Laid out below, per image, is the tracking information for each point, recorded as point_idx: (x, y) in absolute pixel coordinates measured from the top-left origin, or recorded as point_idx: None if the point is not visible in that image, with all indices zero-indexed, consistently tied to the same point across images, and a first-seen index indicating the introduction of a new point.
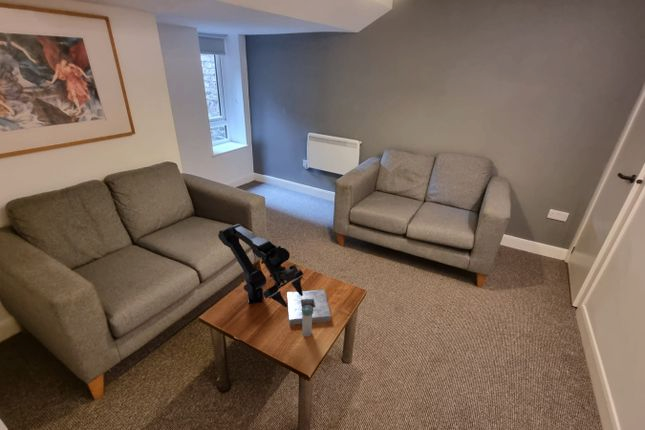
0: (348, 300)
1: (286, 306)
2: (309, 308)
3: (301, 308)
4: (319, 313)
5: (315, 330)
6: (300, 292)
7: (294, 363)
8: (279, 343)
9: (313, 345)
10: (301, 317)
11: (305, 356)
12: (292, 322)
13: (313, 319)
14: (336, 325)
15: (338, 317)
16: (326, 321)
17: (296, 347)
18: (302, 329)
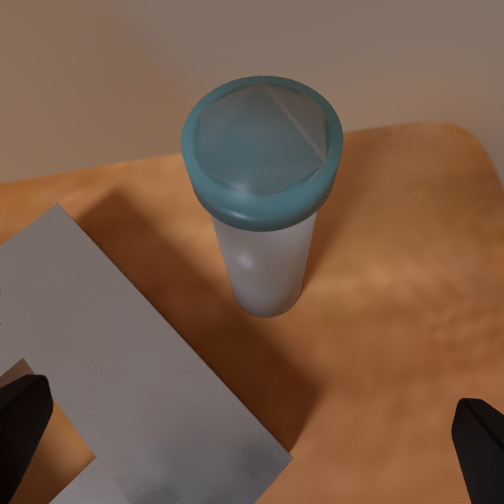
0: None
1: (486, 405)
2: (237, 123)
3: (96, 464)
4: (75, 283)
5: (208, 257)
6: (2, 427)
7: (495, 199)
8: (476, 382)
9: None
10: (201, 377)
11: (411, 183)
12: (270, 433)
13: (147, 300)
14: (95, 183)
15: (22, 211)
16: (97, 245)
17: (405, 263)
18: (298, 287)
